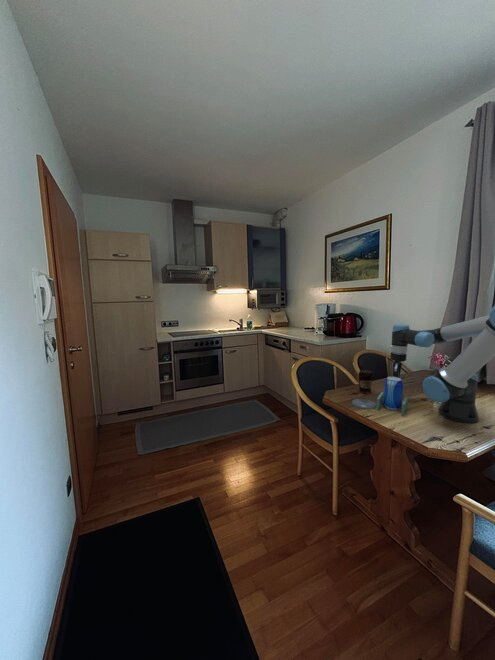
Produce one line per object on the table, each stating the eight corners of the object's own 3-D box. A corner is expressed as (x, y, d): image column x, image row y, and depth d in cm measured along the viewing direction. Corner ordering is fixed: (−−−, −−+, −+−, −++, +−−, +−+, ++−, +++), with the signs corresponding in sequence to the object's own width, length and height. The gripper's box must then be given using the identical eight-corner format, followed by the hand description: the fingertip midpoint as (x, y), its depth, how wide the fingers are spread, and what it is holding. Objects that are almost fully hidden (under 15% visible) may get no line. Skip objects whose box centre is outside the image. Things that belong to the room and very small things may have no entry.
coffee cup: (374, 395, 153) (375, 374, 151) (359, 394, 155) (360, 373, 153) (370, 389, 161) (371, 369, 160) (356, 389, 163) (357, 369, 161)
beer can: (397, 412, 131) (399, 382, 128) (380, 407, 137) (382, 378, 135) (404, 408, 136) (406, 378, 134) (387, 402, 142) (389, 374, 140)
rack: (407, 407, 137) (408, 396, 136) (403, 416, 127) (404, 404, 126) (381, 401, 144) (382, 391, 143) (376, 409, 134) (376, 398, 133)
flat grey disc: (378, 403, 142) (378, 402, 142) (373, 411, 132) (373, 410, 132) (355, 398, 149) (355, 397, 149) (349, 405, 140) (349, 404, 140)
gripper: (392, 349, 147) (389, 389, 151) (388, 354, 137) (385, 396, 140) (408, 351, 142) (404, 392, 146) (405, 356, 132) (401, 399, 136)
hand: (394, 394), depth 143 cm, fingers closed
